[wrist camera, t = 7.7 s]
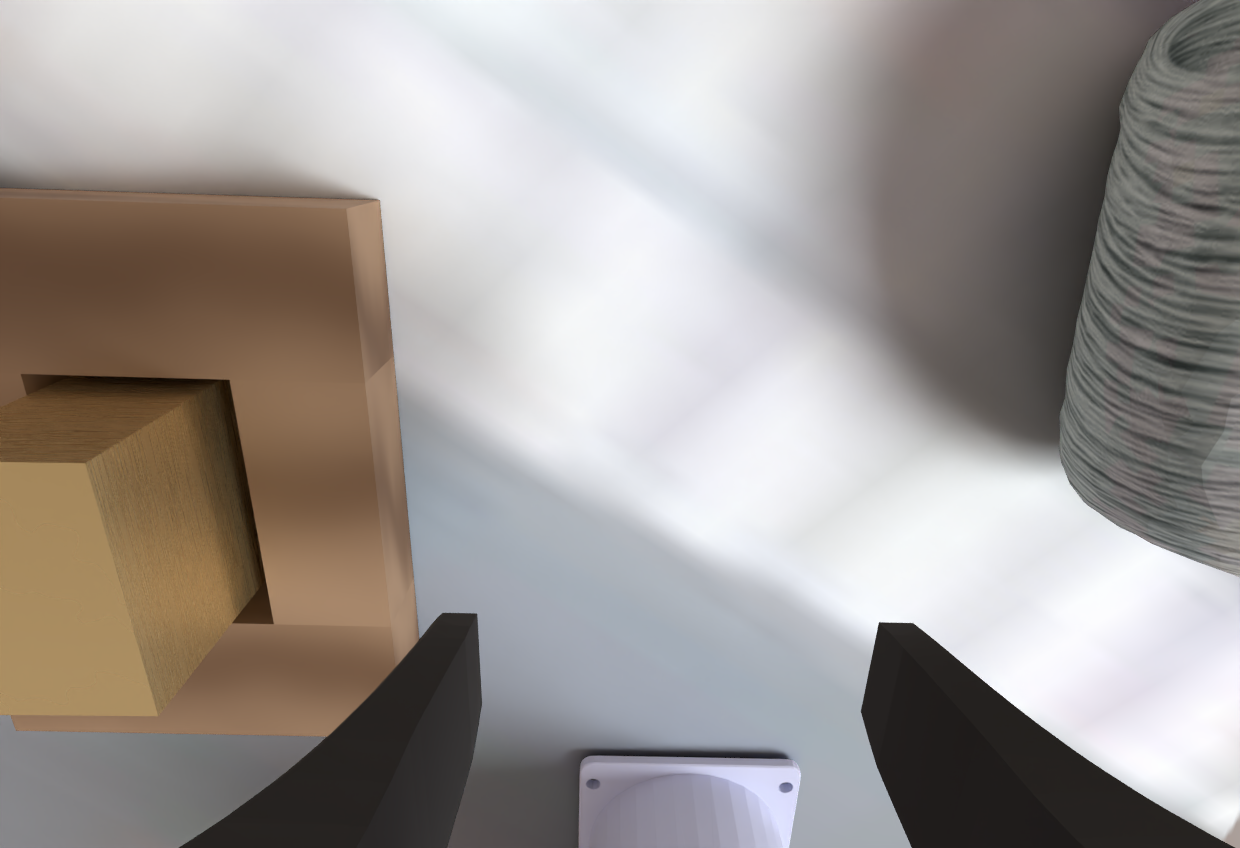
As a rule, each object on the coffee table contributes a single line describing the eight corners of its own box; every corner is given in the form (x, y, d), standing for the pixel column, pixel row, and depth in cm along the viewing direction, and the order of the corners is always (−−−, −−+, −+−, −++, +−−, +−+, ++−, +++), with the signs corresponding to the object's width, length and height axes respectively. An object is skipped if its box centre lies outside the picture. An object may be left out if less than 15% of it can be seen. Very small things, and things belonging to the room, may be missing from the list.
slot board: (423, 681, 25) (403, 737, 22) (73, 674, 24) (16, 730, 22) (379, 200, 19) (346, 208, 16) (-84, 185, 19) (-184, 191, 16)
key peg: (253, 359, 20) (85, 462, 14) (287, 551, 23) (158, 716, 16) (112, 357, 20) (-123, 459, 14) (162, 550, 23) (-19, 714, 16)
